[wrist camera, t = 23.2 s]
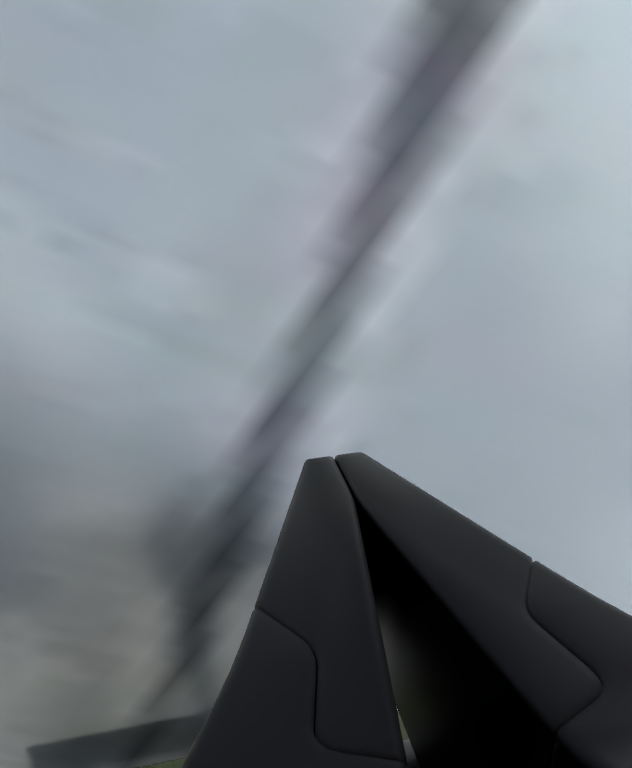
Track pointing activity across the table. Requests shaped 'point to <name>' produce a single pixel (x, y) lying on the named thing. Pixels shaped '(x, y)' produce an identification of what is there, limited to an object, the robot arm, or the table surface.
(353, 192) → the table surface
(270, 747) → the robot arm
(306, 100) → the table surface
